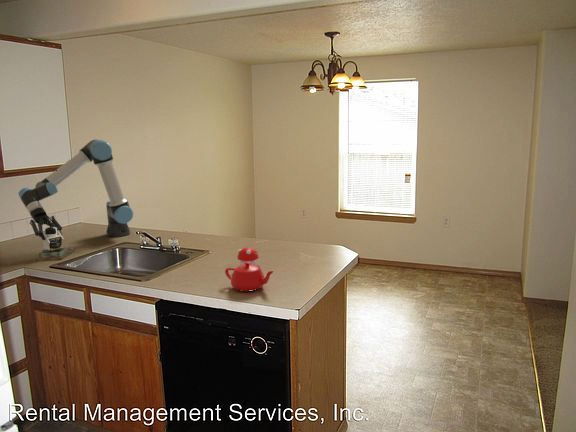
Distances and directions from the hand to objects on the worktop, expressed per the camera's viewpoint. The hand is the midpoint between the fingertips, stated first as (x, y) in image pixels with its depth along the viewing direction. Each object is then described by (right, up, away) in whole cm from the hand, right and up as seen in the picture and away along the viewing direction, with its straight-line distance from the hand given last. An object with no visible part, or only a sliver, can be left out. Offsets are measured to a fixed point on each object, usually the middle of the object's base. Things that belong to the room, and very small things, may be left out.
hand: (55, 242), depth 266 cm
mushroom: (+110, -13, -26) cm, 114 cm away
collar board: (-3, -8, +4) cm, 9 cm away
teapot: (+113, -18, -51) cm, 125 cm away
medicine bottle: (-3, -4, +3) cm, 6 cm away
